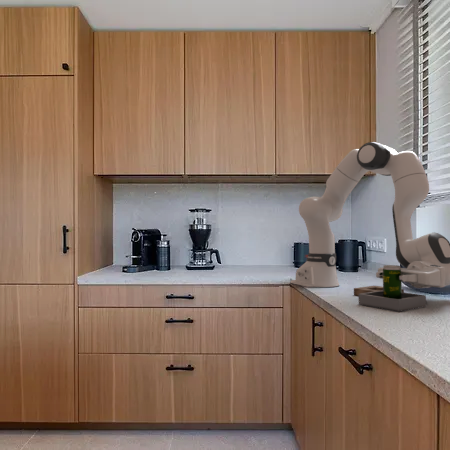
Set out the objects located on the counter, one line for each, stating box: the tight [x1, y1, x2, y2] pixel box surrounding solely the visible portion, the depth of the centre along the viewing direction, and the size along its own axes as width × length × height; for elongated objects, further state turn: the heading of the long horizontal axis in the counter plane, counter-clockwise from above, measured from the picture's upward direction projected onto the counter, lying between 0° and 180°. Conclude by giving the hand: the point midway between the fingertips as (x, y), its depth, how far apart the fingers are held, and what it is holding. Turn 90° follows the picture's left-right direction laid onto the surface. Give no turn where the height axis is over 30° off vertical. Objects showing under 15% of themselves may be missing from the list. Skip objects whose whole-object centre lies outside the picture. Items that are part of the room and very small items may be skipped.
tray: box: [358, 290, 427, 313], centre depth 118 cm, size 14×14×4 cm
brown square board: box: [353, 285, 405, 297], centre depth 137 cm, size 12×12×2 cm
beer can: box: [382, 264, 403, 299], centre depth 118 cm, size 5×5×12 cm
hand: (389, 276), depth 118 cm, fingers open, 8 cm apart
